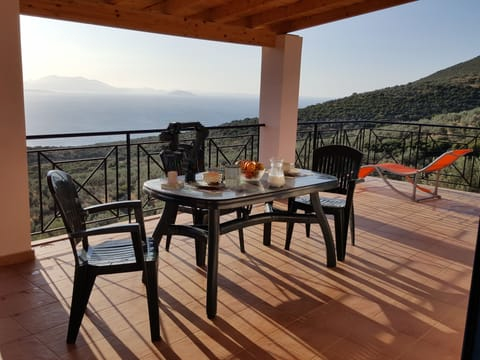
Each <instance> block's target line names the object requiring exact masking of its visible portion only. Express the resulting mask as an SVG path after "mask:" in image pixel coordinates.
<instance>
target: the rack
mask: <svg viewBox="0 0 480 360" xmlns="http://www.w3.org/2000/svg"><path fill="white" fill-rule="evenodd" d="M184 187H185V181H180V180H179V181H178V180H177V183H176V184H168V181H165V182H162V183H161V184H160V189H164V190H173V191H176V190H178V189H182V188H184Z"/></svg>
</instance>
